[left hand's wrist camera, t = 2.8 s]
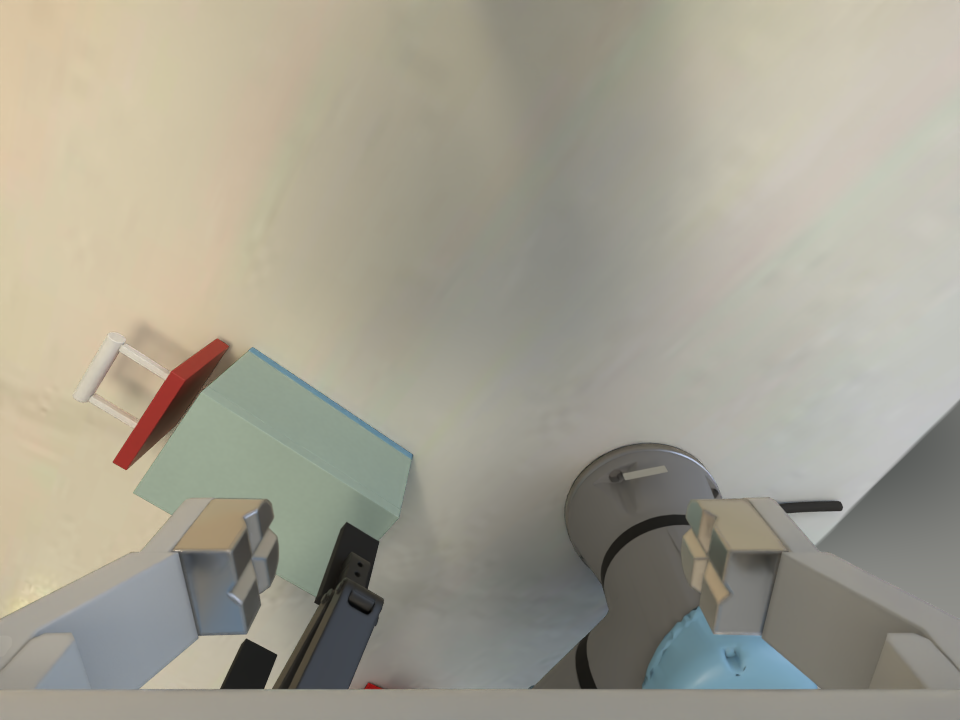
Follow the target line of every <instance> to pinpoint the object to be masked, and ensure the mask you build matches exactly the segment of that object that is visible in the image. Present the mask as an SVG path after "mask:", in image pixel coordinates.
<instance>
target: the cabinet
mask: <svg viewBox="0 0 960 720" xmlns="http://www.w3.org/2000/svg"><path fill="white" fill-rule="evenodd" d="M412 457H413V455H412V454H411V453H410V452H408V451H407V450H405V449H404V448H402V447H401V446H399V445H398V444H396V443H395V442H393V441H392V440H390V439H389V438H387V437H386V436H384V435H383V434H381V433H380V432H378V431H377V430H375V429H374V428H372V427H371V426H369V425H368V424H366V423H365V422H363V421H362V420H360V419H359V418H357V417H356V416H354V415H353V414H351V413H350V412H348V411H347V410H345V409H344V408H343V407H341V406H340V405H338V404H337V403H335V402H334V401H332V400H331V399H329V398H328V397H326V396H325V395H323V394H322V393H320V392H319V391H317V390H316V389H314V388H313V387H311V386H310V385H308V384H307V383H305V382H304V381H302V380H301V379H299V378H298V377H296V376H295V375H293V374H292V373H290V372H289V371H287V370H286V369H284V368H283V367H281V366H280V365H278V364H277V363H275V362H274V361H273V360H271V359H270V358H268V357H267V356H265V355H264V354H262V353H261V352H259V351H258V350H256V349H255V348H253V347H252V348H251V349H250V350H249V351H248V352H247V353H245V354H244V355H243V356H242V357H241V358H240V359H239V360H237V361H236V362H235V363H234V364H233V365H232V366H230V367H229V368H228V369H227V370H226V371H225V372H224V373H222V374H221V375H220V376H219V377H218V378H217V379H216V380H214V381H213V382H212V383H211V384H210V385H209V386H208V387H206V388H205V389H204V390H203V391H202V392H201V393H200V394H199V396H198V397H197V399H196V400H195V402H194V403H193V405H192V406H191V408H190V409H189V411H188V412H187V414H186V415H185V417H184V418H183V419H182V421H181V422H180V424H179V425H178V427H177V428H176V430H175V431H174V433H173V434H172V436H171V437H170V439H169V440H168V442H167V443H166V445H165V446H164V448H163V449H162V451H161V452H160V454H159V455H158V456H157V458H156V459H155V461H154V462H153V464H152V465H151V467H150V468H149V470H148V471H147V473H146V474H145V476H144V477H143V479H142V480H141V482H140V483H139V485H138V486H137V488H136V489H135V491H134V492H133V493H134V494H136V495H137V496H139V497H141V498H143V499H144V500H146V501H148V502H150V503H151V504H153V505H155V506H157V507H158V508H160V509H162V510H164V511H165V512H167V513H169V514H171V515H172V514H173V513H174V512H175V511H176V510H177V509H178V507H179V506H180V505H181V504H182V503H183V502H184V501H185V500H186V499H189V498H208V497H214V498H260V499H268V500H269V501H270V502H271V503H272V507H273V512H274V519H273V521H272V523H271V525H270V526H269V528H270V529H271V530H272V531H273V532H274V533H275V534H276V535H277V536H278V543H279V562H278V566H277V571H276V575H278V576H280V577H281V578H283V579H285V580H287V581H288V582H290V583H292V584H294V585H295V586H297V587H299V588H301V589H302V590H304V591H306V592H308V593H309V594H311V595H313V596H315V597H316V596H317V593H318V590H319V588H320V585H321V582H322V579H323V577H324V574H325V571H326V568H327V565H328V563H329V560H330V557H331V554H332V551H333V549H334V546H335V543H336V540H337V538H338V535H339V532H340V529H341V528H342V527H343V525H344V524H345V523H346V522H348V523H350V524H351V525H353V526H355V527H356V528H358V529H360V530H361V531H363V532H364V533H366V534H368V535H369V536H371V537H373V538H374V539H376V540H378V541H379V539H380V538H381V537H382V536H383V535H384V534H385V533H386V532H387V531H388V529H389V528H390V527H391V526H392V525H393V524H394V523H395V522H396V521H397V520H398V518H399V516H400V511H401V506H402V502H403V497H404V492H405V488H406V483H407V479H408V474H409V469H410V465H411V460H412Z"/></svg>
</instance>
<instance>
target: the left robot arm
mask: <svg viewBox="0 0 960 720" xmlns="http://www.w3.org/2000/svg"><path fill="white" fill-rule="evenodd" d="M273 519H274V512H273V507H272V503H271V502H270V501H269V500H268V499H260V498H214V497H208V498H189V499H186V500H185V501H184V502H183V503H182V504H181V505H180V506H179V507H178V509H177V510H176V511H175V512H174V513H173V514H172V516H171V517H170V518H169V519H168V520H167V521H166V522H165V524H164V525H163V526H162V527H161V528H160V529H159V530H158V532H157V533H156V534H155V535H154V536H153V537H152V539H151V540H150V541H149V542H148V543H147V544H146V545H145V547H144V548H143V549H142V550H141V551H140V552H131V553H129V554H127V555H125V556H123V557H121V558H119V559H117V560H115V561H113V562H111V563H109V564H107V565H105V566H103V567H101V568H99V569H97V570H95V571H93V572H91V573H89V574H87V575H85V576H83V577H81V578H79V579H78V580H76V581H74V582H72V583H70V584H68V585H66V586H64V587H62V588H60V589H58V590H56V591H54V592H52V593H50V594H48V595H46V596H44V597H42V598H40V599H38V600H36V601H34V602H32V603H30V604H28V605H26V606H25V607H23V608H21V609H19V610H17V611H15V612H13V613H11V614H9V615H7V616H5V617H3V618H1V619H0V720H960V619H959V618H957V617H955V616H953V615H951V614H949V613H947V612H945V611H943V610H941V609H939V608H937V607H935V606H933V605H931V604H929V603H927V602H925V601H923V600H921V599H920V598H918V597H916V596H914V595H912V594H910V593H908V592H906V591H904V590H902V589H900V588H898V587H896V586H894V585H892V584H890V583H888V582H886V581H884V580H882V579H880V578H878V577H876V576H874V575H873V574H871V573H869V572H867V571H865V570H863V569H861V568H859V567H857V566H855V565H853V564H851V563H849V562H847V561H845V560H843V559H841V558H839V557H837V556H835V555H833V554H831V553H829V552H820V551H819V550H818V549H817V548H816V547H815V545H814V544H813V543H812V542H811V541H810V540H809V539H808V537H807V536H806V535H805V534H804V533H803V532H802V531H801V529H800V528H799V527H798V526H797V525H796V524H795V522H794V521H793V520H792V519H791V518H790V517H789V516H788V514H787V513H786V512H785V511H784V510H783V509H782V508H781V506H780V505H779V504H778V503H777V502H776V501H775V500H774V499H772V498H769V497H758V498H742V499H691V500H690V502H689V504H688V506H687V511H686V519H687V521H688V523H689V525H690V526H691V528H690V529H689V530H688V531H687V532H686V533H685V534H684V535H683V536H682V544H681V560H682V567H683V571H684V575H685V577H686V580H687V582H688V584H689V586H690V587H691V588H692V589H694V590H695V591H696V592H698V593H699V594H701V595H700V601H699V607H700V609H701V611H702V613H703V615H704V617H705V619H706V621H707V623H708V625H709V627H710V629H711V631H712V633H713V634H718V635H753V636H762V637H761V638H762V639H763V640H764V641H765V642H767V643H768V644H769V645H770V646H771V647H773V648H774V649H775V650H776V651H777V652H778V653H780V654H781V655H782V656H783V657H784V658H785V659H787V660H788V661H789V662H790V663H791V664H793V665H794V666H795V667H796V668H797V669H798V670H800V671H801V672H802V673H803V674H804V675H805V676H807V677H808V678H809V679H810V680H811V681H813V682H814V683H815V684H816V685H817V686H818V687H820V688H821V689H139V688H141V687H142V686H143V685H144V684H145V683H146V682H148V681H149V680H150V679H151V678H152V677H154V676H155V675H156V674H157V673H158V672H159V671H161V670H162V669H163V668H164V667H165V666H166V665H168V664H169V663H170V662H171V661H172V660H174V659H175V658H176V657H177V656H178V655H179V654H181V653H182V652H183V651H184V650H185V649H187V648H188V647H189V646H190V645H191V644H192V643H194V642H195V641H196V640H197V639H198V636H206V635H241V634H247V633H248V631H249V629H250V627H251V625H252V623H253V621H254V619H255V617H256V615H257V613H258V611H259V609H260V606H261V601H260V595H259V594H261V593H262V592H264V591H265V590H266V589H268V588H269V587H270V586H271V584H272V582H273V579H274V577H275V575H276V571H277V566H278V562H279V543H278V536H277V535H276V534H275V533H274V532H273V531H272V530H271V529H270V528H269V526H270V525H271V523H272V521H273Z"/></svg>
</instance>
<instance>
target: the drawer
mask: <svg viewBox="0 0 960 720" xmlns="http://www.w3.org/2000/svg"><path fill="white" fill-rule="evenodd" d="M125 342H126V339H125V337H124V336H123V335H121V334H119V333H116V332H110V333H108V334H107V336H106V338H105V339H104V341H103V343H102V345H101V346H100V348H99V350H98V351H97V353H96V355H95V357H94V358H93V360H92V362H91V363H90V365H89V367H88V369H87V370H86V372H85V374H84V375H83V377H82V379H81V381H80V382H79V384H78V386H77V387H76V389H75V391H74V392H73V398H74V399H75V400H77V401H79V402H90V403H92V404H94V405H95V406H97V407H99V408H100V409H102V410H104V411H105V412H107V413H109V414H110V415H112V416H114V417H115V418H117V419H119V420H120V421H122V422H124V423H125V424H127V425H129V426H130V427H132V428H134V430H133V431H132V433H131V434H130V436H129V437H128V439H127V441H126V442H125V444H124V445H123V447H122V448H121V450H120V451H119V453H118V454H117V456H116V458H115V459H114V461H113V463H114V464H116V465H118V466H120V467H121V468H123V469H125V470H127V469H128V468H129V467H130V466H132V465H133V464H134V463H135V462H136V461H137V460H138V459H139V458H140V457H142V456H143V455H144V454H145V453H146V452H147V451H148V450H149V449H150V448H151V447H153V446H154V445H155V444H156V443H157V442H158V441H159V440H160V439H161V438H162V437H164V436H165V435H166V434H167V433H168V432H169V431H170V430H171V429H172V428H173V427H175V426H176V424H177V423H178V421H179V420H180V419H181V417H182V416H183V414H184V413H185V411H186V410H187V408H188V407H189V405H190V404H191V402H192V401H193V399H194V398H195V396H196V395H197V393H198V392H199V390H200V389H201V387H202V386H203V384H204V383H205V381H206V380H207V378H208V377H209V375H210V374H211V373H212V371H213V370H214V368H215V367H216V365H217V364H218V362H219V361H220V359H221V358H222V356H223V355H224V353H225V352H226V350H227V349H228V347H229V346H228V345H227V344H225V343H224V342H222V341H221V340H219V339H216V340H214V341H213V342H211V343H210V344H209V345H207V346H206V347H204V348H203V349H202V350H200V351H199V352H197V353H196V354H195V355H193V356H192V357H190V358H189V359H188V360H186V361H185V362H184V363H182V364H181V365H179V366H178V367H177V368H175V369H174V370H172V371H171V372H170V371H169V370H167V369H166V368H164V367H163V366H161V365H159V364H158V363H156V362H155V361H153V360H152V359H150V358H148V357H147V356H145V355H144V354H142V353H141V352H139V351H137V350H136V349H134V348H133V347H131V346H130V345H128V344H126V343H125ZM124 343H125V344H124ZM119 352H121V353H122V354H124V355H126V356H127V357H129V358H130V359H132V360H134V361H135V362H137V363H138V364H140V365H142V366H143V367H145V368H146V369H148V370H149V371H151V372H153V373H154V374H156V375H157V376H159V377H161V378H162V379H164V380H165V382H164V383H163V385H162V386H161V388H160V389H159V391H158V392H157V394H156V396H155V397H154V399H153V400H152V402H151V403H150V405H149V406H148V408H147V410H146V411H145V413H144V414H143V416H142V417H141V419H140V420H139V419H137V418H136V417H134V416H132V415H131V414H129V413H127V412H126V411H124V410H122V409H121V408H119V407H117V406H116V405H114V404H112V403H111V402H109V401H107V400H106V399H104V398H102V397H101V396H99V395H97V394H94V393H95V392H96V390H97V388H98V387H99V385H100V383H101V382H102V380H103V378H104V377H105V375H106V373H107V372H108V370H109V368H110V367H111V365H112V363H113V362H114V360H115V358H116V357H117V355H118V353H119Z"/></svg>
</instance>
